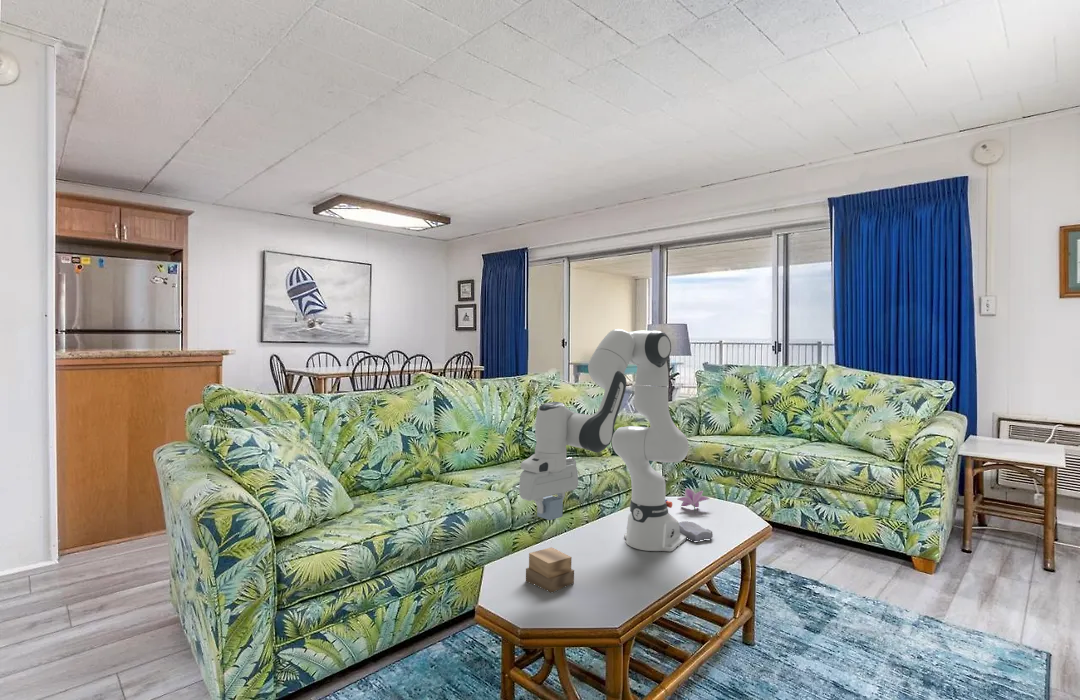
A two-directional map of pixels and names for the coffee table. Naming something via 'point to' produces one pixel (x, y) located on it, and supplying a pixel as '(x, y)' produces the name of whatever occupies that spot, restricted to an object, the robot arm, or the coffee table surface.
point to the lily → (692, 498)
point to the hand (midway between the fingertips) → (549, 510)
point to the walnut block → (549, 580)
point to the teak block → (550, 562)
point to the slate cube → (552, 508)
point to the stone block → (694, 531)
